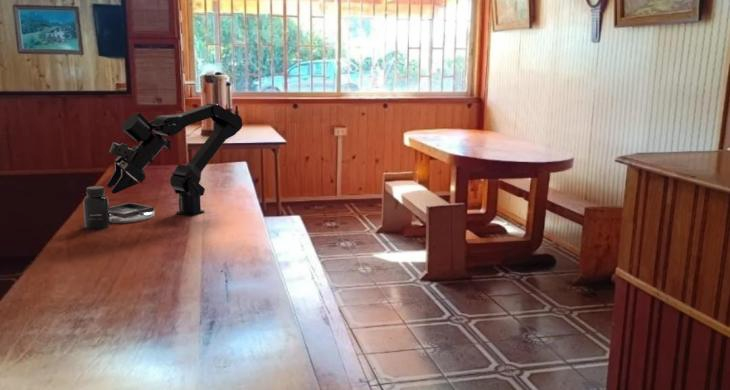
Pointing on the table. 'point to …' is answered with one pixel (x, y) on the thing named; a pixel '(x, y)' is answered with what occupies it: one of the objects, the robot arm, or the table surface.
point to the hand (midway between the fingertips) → (110, 189)
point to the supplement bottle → (96, 208)
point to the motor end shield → (130, 213)
